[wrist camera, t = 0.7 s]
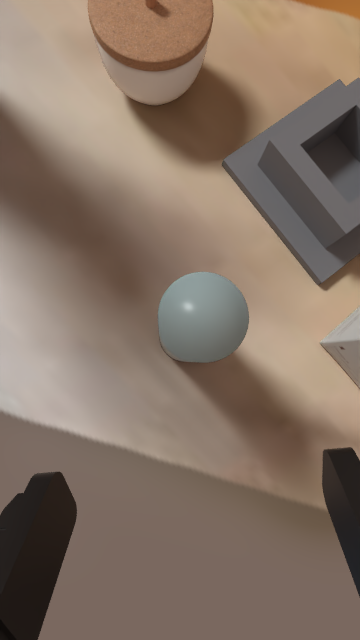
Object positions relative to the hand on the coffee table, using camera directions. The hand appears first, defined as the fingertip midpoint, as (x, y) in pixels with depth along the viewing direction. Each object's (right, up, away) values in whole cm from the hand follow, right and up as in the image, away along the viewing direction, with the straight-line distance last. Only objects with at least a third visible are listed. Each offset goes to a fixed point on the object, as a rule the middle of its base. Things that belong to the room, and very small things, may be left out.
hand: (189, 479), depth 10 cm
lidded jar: (-3, +31, +26) cm, 41 cm away
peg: (0, +3, +23) cm, 23 cm away
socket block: (+15, +20, +26) cm, 36 cm away
